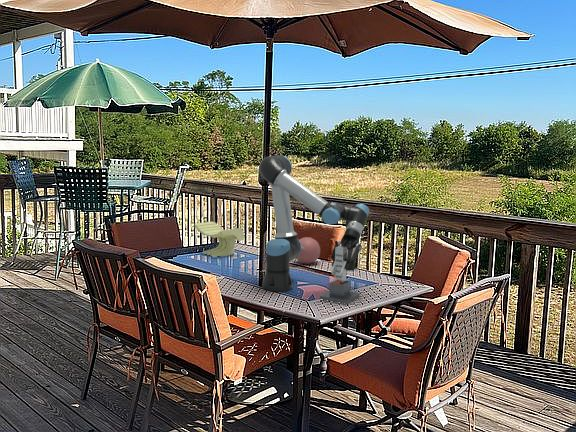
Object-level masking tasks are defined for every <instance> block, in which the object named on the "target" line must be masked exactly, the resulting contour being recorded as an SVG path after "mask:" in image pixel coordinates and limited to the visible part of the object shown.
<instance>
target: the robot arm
mask: <svg viewBox="0 0 576 432" xmlns="http://www.w3.org/2000/svg"><path fill="white" fill-rule="evenodd" d="M292 164H293V163H292V162H291V161H290V159H289V158H288V157H287V156H285V155H281V154H276V155H270V156H266V157H264V158H263V159H262V160H261V161H260V163H259V165H258V170H259V171H258V172H259V173H260V175H261V177H262V178H263V179H264V180H265V181H266V182H267V184H268V185H269V186H270V187H271V195H272V202H273V210H274V212H273V213H274V219H275V226H276V234H275V235H274V239H270V240H269V241H267V242H266V244H265V272H264V277H263V279H262V283H261V288H262V289H263V290H264V289H266V290H265V291H267V290H269V291H268V292H274V291H279V292H281V293H282V292H288V291H291V290H292V289H293V288H294V283H293V280H292V276H291V274H290V263H291V262H292V261H294V260H295V259H296V258H297V257H298V256H299V254H300V253H301V249H302V246H301V242H300V241H299V240H300V239H299V238H298V233H297V232H296V231H295V229H294V222H293V214H292V206H291V198H290V196H291V197H292V198H293V199H296V200H297V201H298V202H299V203H301V204H302V205H304V206H305V207H307V208H308V209H309V210H311V211H312V212H314V213H315V214H316V215H317V216H319V217H320V218H321V219H322V221H323V222H324V224H327V225H334V224H337V223H338V222H340V221H344V222H346V221H347V222H349V223H348V226H347V228H346V227H345V230H344V233H343V236H342V237H343V239H342V238H341V239H342V240H341V239H340V240H339V241H338V240H335V241H334V247H333V249H332V252H331V255H330V259H331V260H332V263H331V267H332V268H331V269H330V273H331V275H333V276H335V247H338V246H343V247H347V250H348V255H347V260H346V261H347V262H346V261H345V262H344V264H343V267H342V269H341V272H340V274H341V276H344V273H345V271H346V272H347V271H348V270H347V269H348V267H349V265H350V264H351V263H352V264H354V263H355V261H356V260H357V258H358V256H359V254H360V251H361V250H362V249H363V246H362V244H361V243H359V241H360V238H361V236H362V233H363V230H364V228H365V226H366V223H367V220H368V219H369V218H368V217H369V214H370V208H369V207H368V205H366V204H363V203H357V204H355V206H349V205H345V204H341V203H339V202H333V201H332V202H329V201H327V200H326V199H324V198H323V197H321V196H320V195H318V194H317V193H315V192H314V191H313V190H311V189H310V188H308V187H307V186H306V185H304V184H303V183H302V182H301V181H299V180H297V179H296V178H294V177H293V176H292V175H291V173H292V169H293V165H292ZM341 244H342V245H341ZM355 247H356V248H355ZM353 248H355V251H354V253H353V255H352V252H353ZM351 257H352V258H351ZM296 260H297V259H296Z"/></svg>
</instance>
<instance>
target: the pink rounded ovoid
mask: <svg viewBox="0 0 576 432" xmlns="http://www.w3.org/2000/svg"><path fill="white" fill-rule="evenodd" d="M298 240H299V241H300V242H301V246H302V249H301V253H300V254H299V256H298V257H297V258H296V260H297V261H298V262H300V263H301V264H306V265H310V264H313V263H314V262H315V263H316V261H317V260H318V258H319V257H320V255H321V246H320V244H319V242H318V241H317V240H316V239H314V238H312V237H309V236H305V237H302V238H300V239H298Z"/></svg>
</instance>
